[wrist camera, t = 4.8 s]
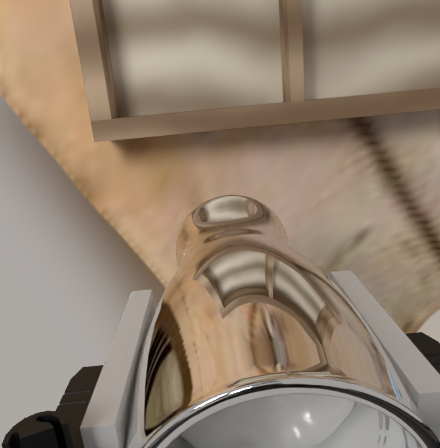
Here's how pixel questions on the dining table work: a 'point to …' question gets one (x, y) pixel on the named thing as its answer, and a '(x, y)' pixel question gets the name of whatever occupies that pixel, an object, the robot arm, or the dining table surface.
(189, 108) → the tray
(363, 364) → the metal cup
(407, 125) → the dining table surface
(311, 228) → the dining table surface
